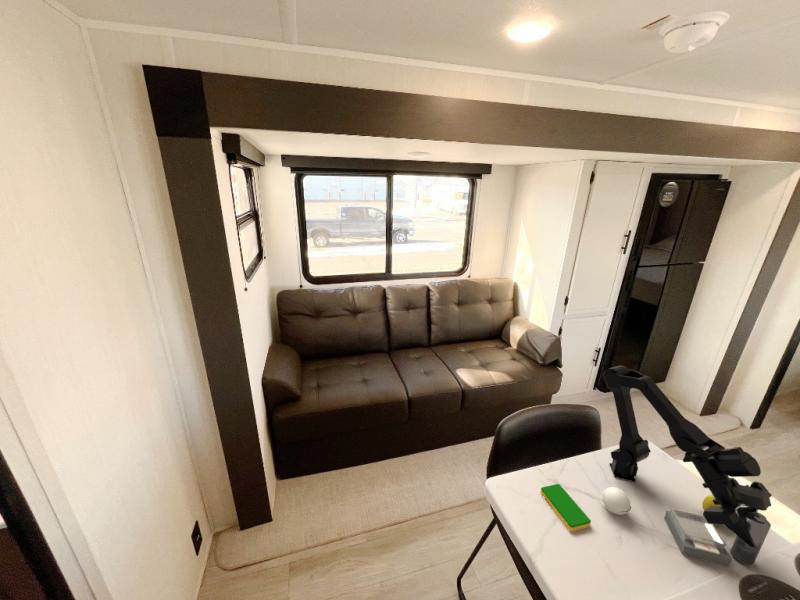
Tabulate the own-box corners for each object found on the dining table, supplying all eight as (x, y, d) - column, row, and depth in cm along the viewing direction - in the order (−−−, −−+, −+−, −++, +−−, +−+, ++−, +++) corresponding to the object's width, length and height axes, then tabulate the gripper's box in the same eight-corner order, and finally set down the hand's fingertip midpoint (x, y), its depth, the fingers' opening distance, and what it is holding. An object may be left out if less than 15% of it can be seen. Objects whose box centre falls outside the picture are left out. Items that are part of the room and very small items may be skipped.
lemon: (729, 528, 93) (737, 507, 91) (707, 524, 94) (714, 503, 92) (715, 511, 98) (722, 491, 96) (694, 508, 99) (701, 488, 97)
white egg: (613, 523, 94) (618, 504, 92) (594, 501, 101) (598, 483, 99) (641, 517, 96) (646, 498, 94) (620, 496, 103) (625, 478, 101)
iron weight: (737, 561, 83) (754, 521, 79) (726, 545, 87) (742, 506, 83) (758, 567, 82) (777, 526, 78) (747, 551, 86) (764, 511, 82)
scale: (682, 554, 86) (686, 541, 85) (664, 518, 96) (667, 506, 95) (728, 567, 83) (733, 553, 81) (704, 528, 93) (709, 515, 92)
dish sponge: (558, 489, 106) (559, 483, 106) (590, 527, 94) (591, 521, 93) (539, 493, 105) (540, 487, 104) (570, 532, 92) (571, 526, 91)
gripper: (732, 488, 78) (782, 565, 71) (765, 464, 85) (813, 531, 79) (685, 488, 87) (726, 556, 80) (719, 466, 94) (759, 527, 88)
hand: (757, 542), depth 82 cm, fingers closed on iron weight, 4 cm apart
